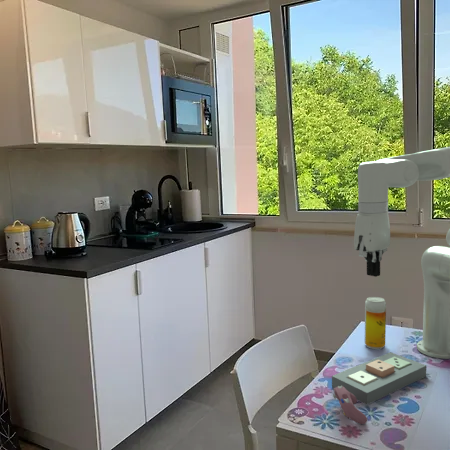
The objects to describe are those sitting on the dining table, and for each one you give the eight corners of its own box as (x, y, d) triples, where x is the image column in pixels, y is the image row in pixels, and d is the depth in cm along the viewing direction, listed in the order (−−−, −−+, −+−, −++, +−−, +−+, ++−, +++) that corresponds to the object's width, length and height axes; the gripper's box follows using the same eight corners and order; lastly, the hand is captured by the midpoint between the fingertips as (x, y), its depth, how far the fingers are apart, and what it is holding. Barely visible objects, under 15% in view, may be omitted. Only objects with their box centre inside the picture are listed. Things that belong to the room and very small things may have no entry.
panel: (390, 362, 132) (390, 352, 131) (426, 376, 123) (426, 365, 122) (331, 387, 118) (331, 375, 118) (367, 404, 109) (367, 392, 109)
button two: (378, 370, 124) (378, 359, 123) (394, 376, 120) (394, 365, 119) (365, 375, 121) (366, 364, 120) (381, 382, 117) (382, 371, 116)
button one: (360, 381, 120) (360, 370, 119) (376, 388, 116) (377, 377, 115) (347, 387, 117) (347, 375, 117) (363, 395, 113) (363, 383, 113)
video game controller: (340, 408, 111) (327, 384, 110) (357, 400, 110) (344, 376, 110) (351, 432, 101) (336, 406, 100) (370, 423, 101) (355, 397, 100)
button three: (394, 366, 128) (394, 356, 127) (410, 373, 124) (410, 362, 123) (382, 371, 125) (382, 361, 125) (398, 378, 121) (399, 367, 120)
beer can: (386, 350, 140) (387, 302, 138) (365, 349, 141) (366, 301, 139) (383, 342, 145) (384, 296, 143) (363, 341, 147) (364, 296, 145)
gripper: (378, 204, 130) (378, 268, 133) (343, 210, 122) (344, 278, 125) (402, 206, 124) (402, 272, 127) (366, 212, 116) (367, 283, 119)
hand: (373, 275), depth 126 cm, fingers closed
